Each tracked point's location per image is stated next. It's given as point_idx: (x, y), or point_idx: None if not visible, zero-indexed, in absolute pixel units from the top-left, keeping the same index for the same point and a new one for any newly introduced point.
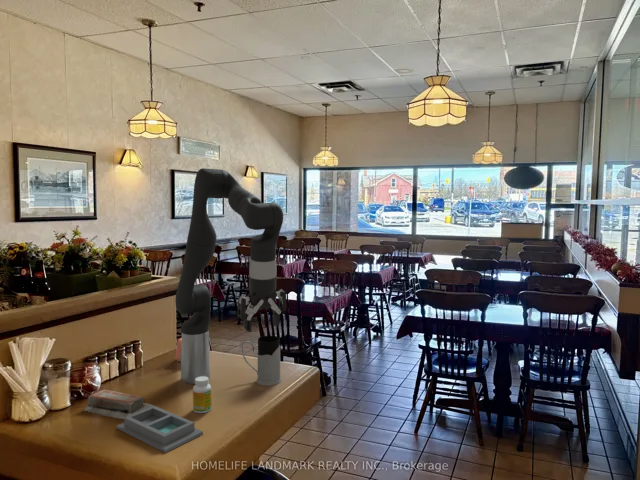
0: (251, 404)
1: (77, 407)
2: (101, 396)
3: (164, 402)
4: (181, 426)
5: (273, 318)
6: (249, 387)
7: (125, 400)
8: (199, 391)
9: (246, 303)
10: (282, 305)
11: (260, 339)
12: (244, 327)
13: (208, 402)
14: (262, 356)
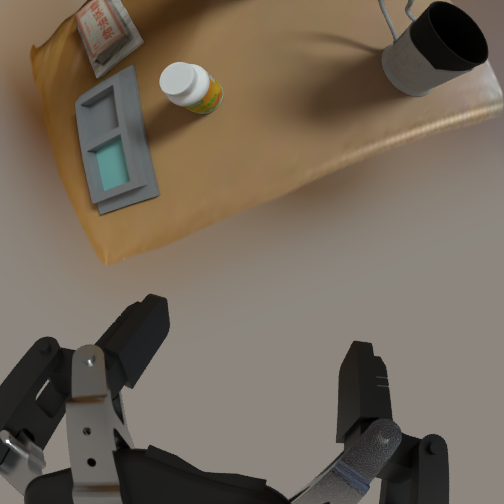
0: (304, 139)
1: None
2: (81, 21)
3: (167, 31)
4: (118, 187)
5: (353, 380)
6: (353, 62)
7: (91, 48)
8: (171, 101)
9: (39, 465)
10: (381, 501)
11: (440, 5)
12: (127, 311)
13: (202, 109)
14: (413, 47)
